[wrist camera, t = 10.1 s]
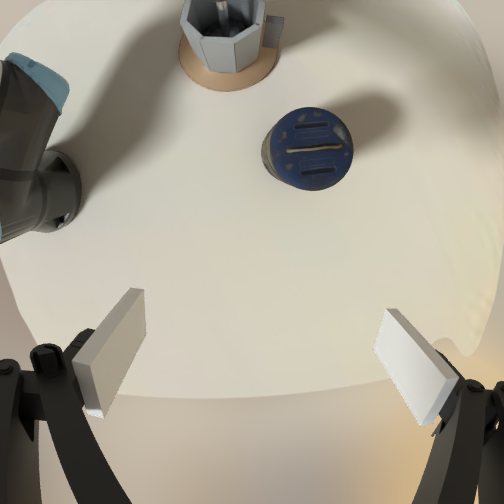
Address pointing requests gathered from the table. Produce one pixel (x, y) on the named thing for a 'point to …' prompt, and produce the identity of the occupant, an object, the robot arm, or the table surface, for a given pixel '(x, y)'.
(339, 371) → the table surface
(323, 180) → the canister
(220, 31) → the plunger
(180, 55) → the press carafe
